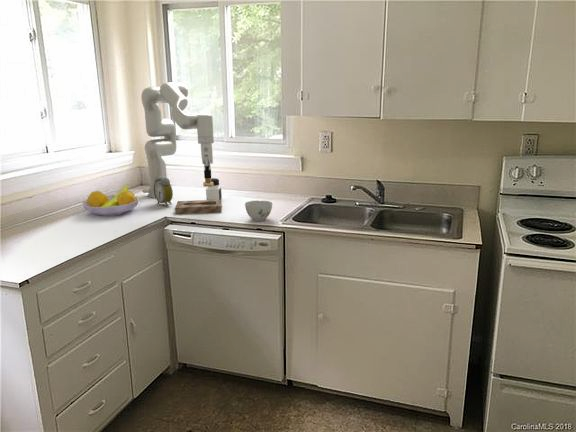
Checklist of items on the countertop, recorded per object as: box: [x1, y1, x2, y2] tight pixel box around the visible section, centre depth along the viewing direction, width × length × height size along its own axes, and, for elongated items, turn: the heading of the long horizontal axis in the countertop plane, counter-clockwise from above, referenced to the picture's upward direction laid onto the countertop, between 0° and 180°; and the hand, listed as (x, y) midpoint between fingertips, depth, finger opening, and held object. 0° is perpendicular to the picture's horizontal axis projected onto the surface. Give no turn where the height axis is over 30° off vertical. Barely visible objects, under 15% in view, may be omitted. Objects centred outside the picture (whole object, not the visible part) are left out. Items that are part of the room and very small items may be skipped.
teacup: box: [244, 200, 273, 222], centre depth 221 cm, size 15×12×8 cm
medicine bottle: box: [205, 177, 223, 201], centre depth 257 cm, size 7×7×12 cm
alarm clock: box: [154, 176, 174, 208], centre depth 248 cm, size 12×7×15 cm, turn 41°
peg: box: [202, 163, 214, 188], centre depth 235 cm, size 5×5×12 cm
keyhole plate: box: [174, 199, 222, 215], centre depth 239 cm, size 22×14×3 cm, turn 97°
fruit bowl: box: [81, 183, 139, 217], centre depth 236 cm, size 28×27×11 cm
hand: (207, 177), depth 236 cm, fingers closed on peg, 3 cm apart
